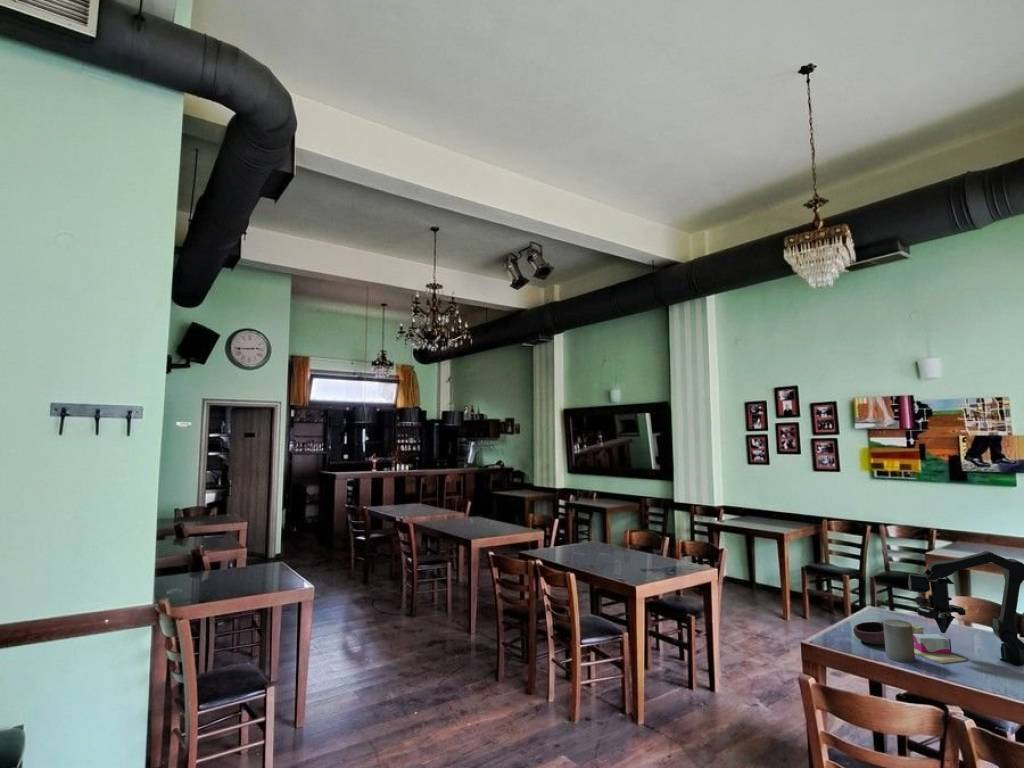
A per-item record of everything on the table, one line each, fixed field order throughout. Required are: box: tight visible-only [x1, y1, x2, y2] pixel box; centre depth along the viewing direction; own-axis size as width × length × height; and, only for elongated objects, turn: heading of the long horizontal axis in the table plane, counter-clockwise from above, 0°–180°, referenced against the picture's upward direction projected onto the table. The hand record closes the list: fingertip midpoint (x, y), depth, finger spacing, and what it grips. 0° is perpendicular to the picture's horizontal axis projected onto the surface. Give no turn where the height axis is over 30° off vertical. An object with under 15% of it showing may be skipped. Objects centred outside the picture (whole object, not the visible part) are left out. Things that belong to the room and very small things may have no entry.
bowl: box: [853, 620, 885, 646], centre depth 237 cm, size 16×13×8 cm
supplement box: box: [913, 633, 953, 654], centre depth 226 cm, size 6×6×12 cm
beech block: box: [911, 623, 925, 634], centre depth 233 cm, size 4×4×8 cm
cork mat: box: [914, 648, 968, 665], centre depth 222 cm, size 15×13×1 cm
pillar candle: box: [882, 618, 916, 663], centre depth 220 cm, size 10×10×15 cm
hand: (943, 633), depth 225 cm, fingers closed
